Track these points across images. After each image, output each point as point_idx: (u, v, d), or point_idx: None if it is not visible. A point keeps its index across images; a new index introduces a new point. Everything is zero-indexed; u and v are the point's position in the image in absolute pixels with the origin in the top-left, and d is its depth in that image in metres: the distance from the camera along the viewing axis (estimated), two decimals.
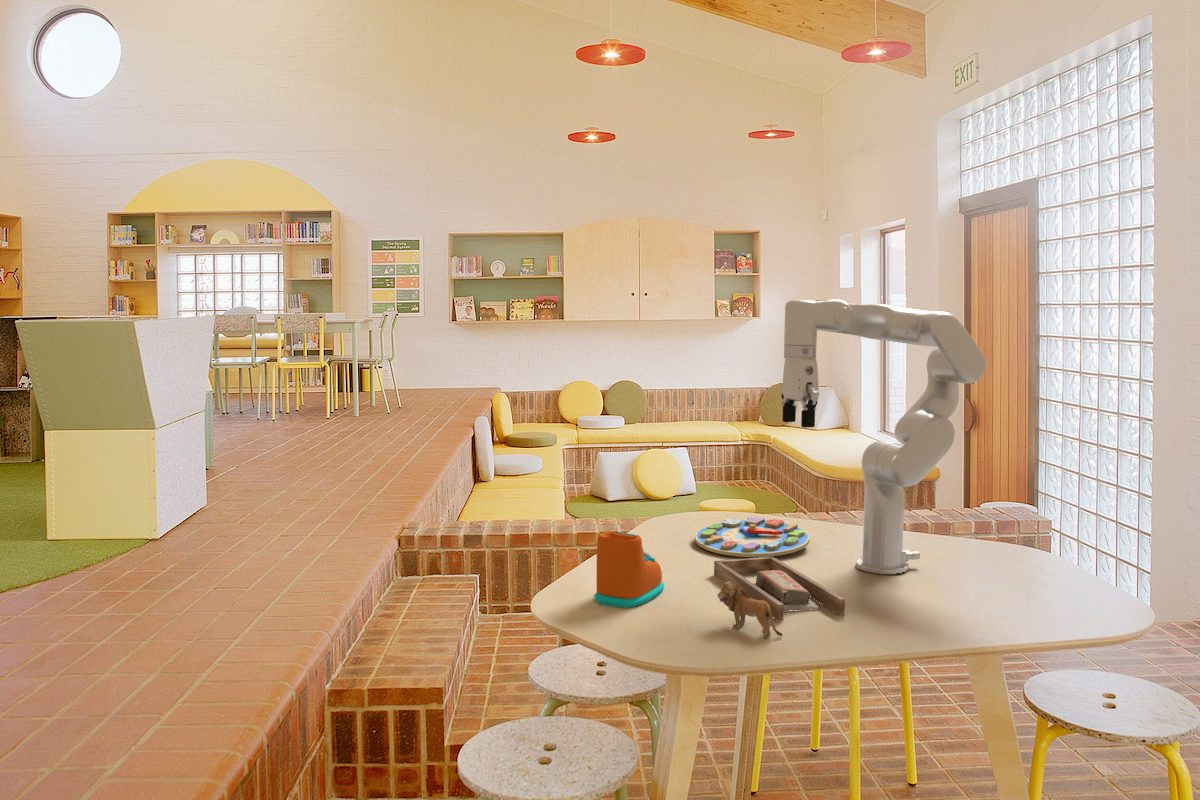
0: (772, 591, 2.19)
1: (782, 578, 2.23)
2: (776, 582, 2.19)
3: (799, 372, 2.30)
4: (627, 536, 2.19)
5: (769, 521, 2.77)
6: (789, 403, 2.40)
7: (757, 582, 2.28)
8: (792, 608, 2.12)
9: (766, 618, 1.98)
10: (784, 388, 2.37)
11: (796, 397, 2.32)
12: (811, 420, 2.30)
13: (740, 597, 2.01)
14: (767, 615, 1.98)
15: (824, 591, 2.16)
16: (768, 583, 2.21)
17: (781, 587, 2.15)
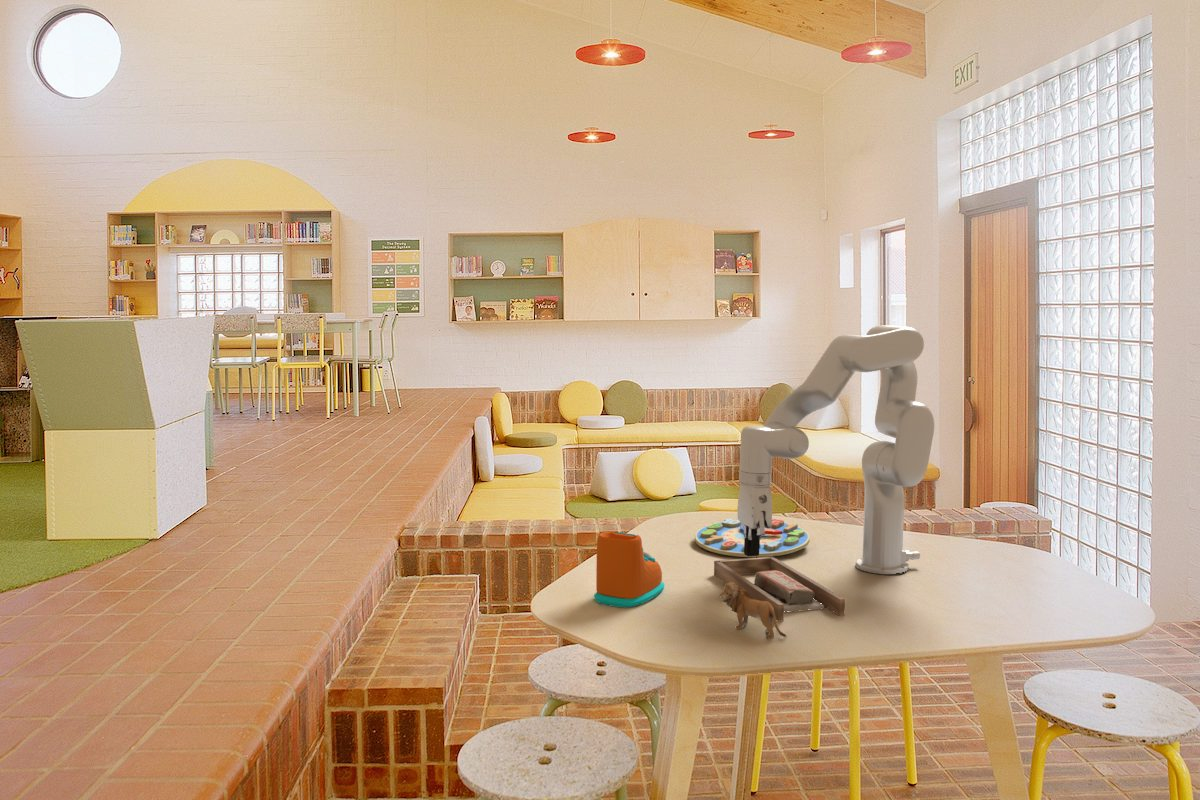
0: (775, 592, 2.19)
1: (783, 578, 2.23)
2: (780, 582, 2.19)
3: (752, 500, 2.29)
4: (627, 536, 2.19)
5: None
6: None
7: (756, 583, 2.28)
8: (799, 608, 2.13)
9: (769, 619, 1.98)
10: (739, 512, 2.37)
11: (749, 524, 2.31)
12: (755, 549, 2.33)
13: (743, 598, 2.01)
14: (770, 616, 1.97)
15: (824, 591, 2.16)
16: (770, 583, 2.21)
17: (786, 587, 2.15)
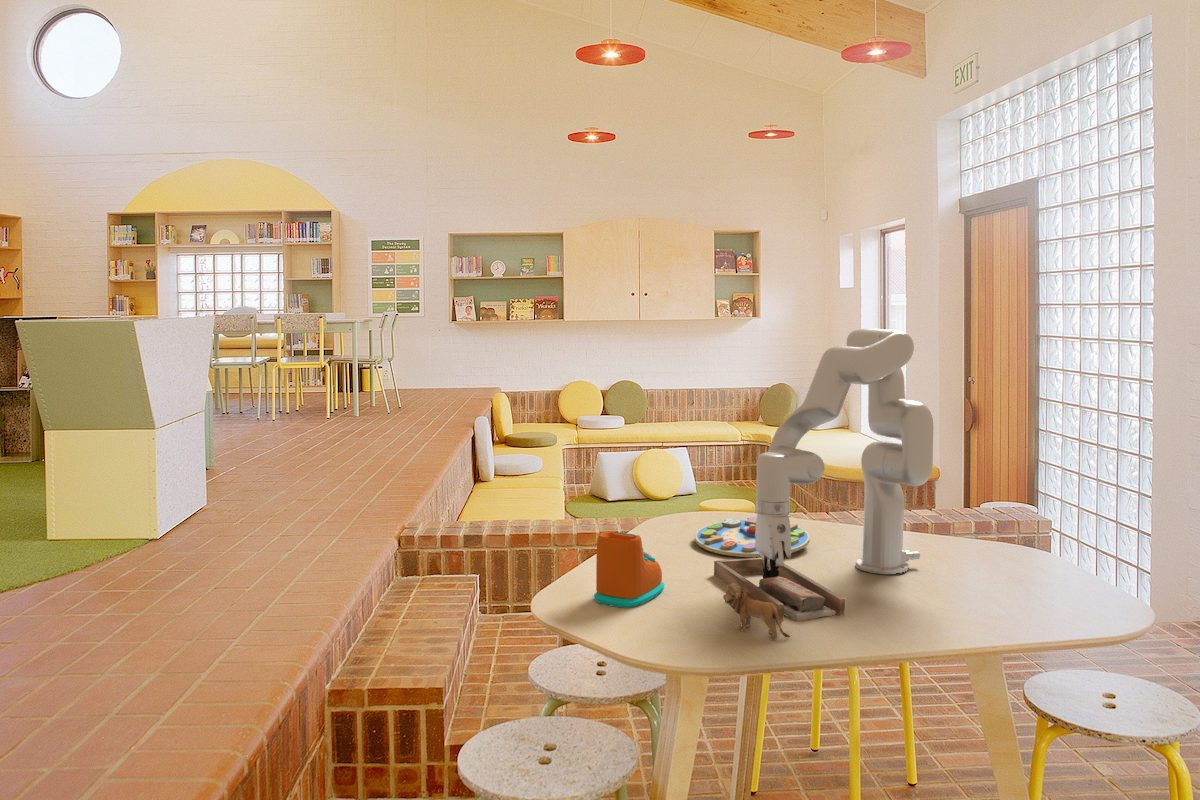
0: (784, 599, 2.13)
1: (790, 584, 2.18)
2: (789, 589, 2.13)
3: (770, 530, 2.21)
4: (627, 536, 2.19)
5: None
6: None
7: None
8: (812, 615, 2.08)
9: (772, 620, 1.97)
10: (756, 542, 2.28)
11: (768, 555, 2.23)
12: None
13: (746, 599, 2.00)
14: (774, 617, 1.97)
15: (824, 591, 2.16)
16: (778, 590, 2.15)
17: (797, 594, 2.10)
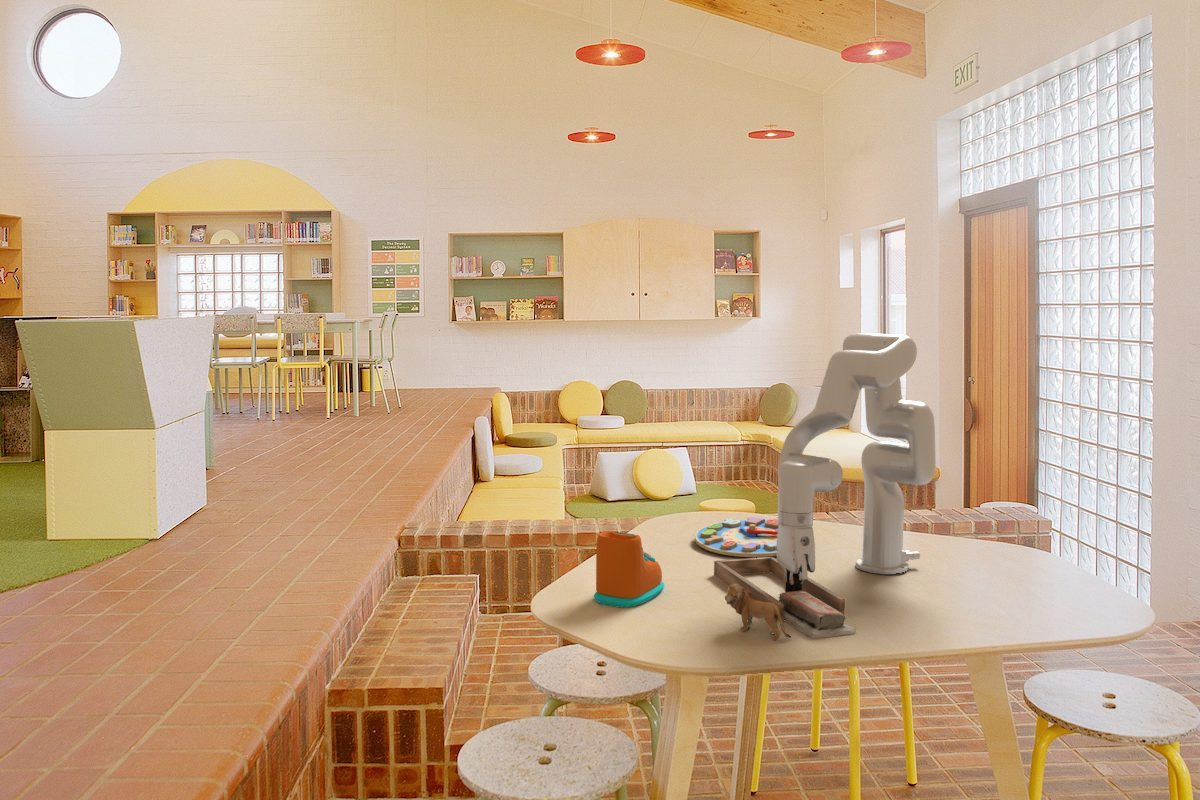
0: (803, 615, 2.03)
1: (810, 600, 2.07)
2: (807, 605, 2.03)
3: (793, 543, 2.10)
4: (627, 536, 2.19)
5: (769, 521, 2.77)
6: None
7: None
8: (829, 633, 1.97)
9: (774, 620, 1.97)
10: (778, 554, 2.18)
11: (791, 569, 2.12)
12: None
13: (747, 599, 2.00)
14: (775, 617, 1.96)
15: (824, 591, 2.16)
16: (797, 606, 2.05)
17: (815, 611, 1.99)
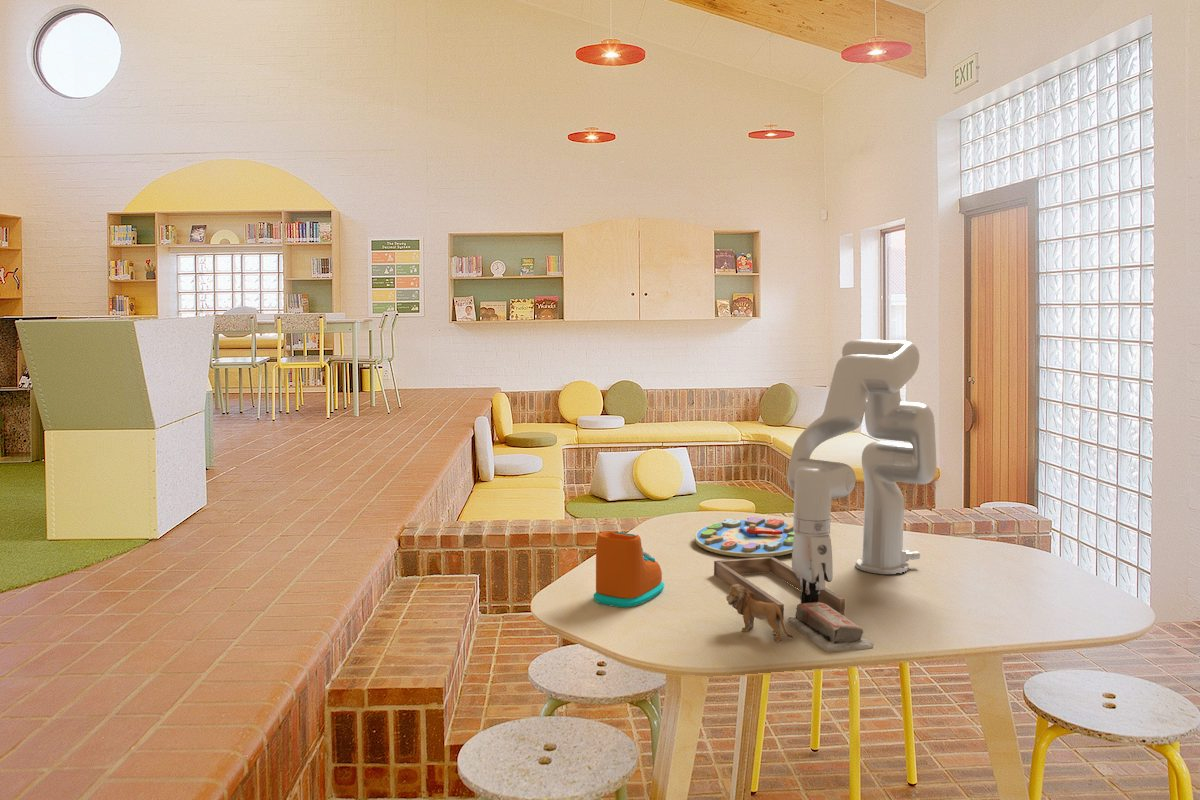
0: (819, 627, 1.96)
1: (828, 612, 1.99)
2: (824, 617, 1.96)
3: (810, 551, 2.03)
4: (626, 536, 2.19)
5: (769, 521, 2.77)
6: None
7: (797, 616, 2.05)
8: (845, 647, 1.89)
9: (776, 621, 1.96)
10: (793, 563, 2.10)
11: (807, 578, 2.05)
12: None
13: (749, 600, 1.99)
14: (777, 618, 1.96)
15: (824, 591, 2.16)
16: (813, 617, 1.98)
17: (831, 623, 1.92)
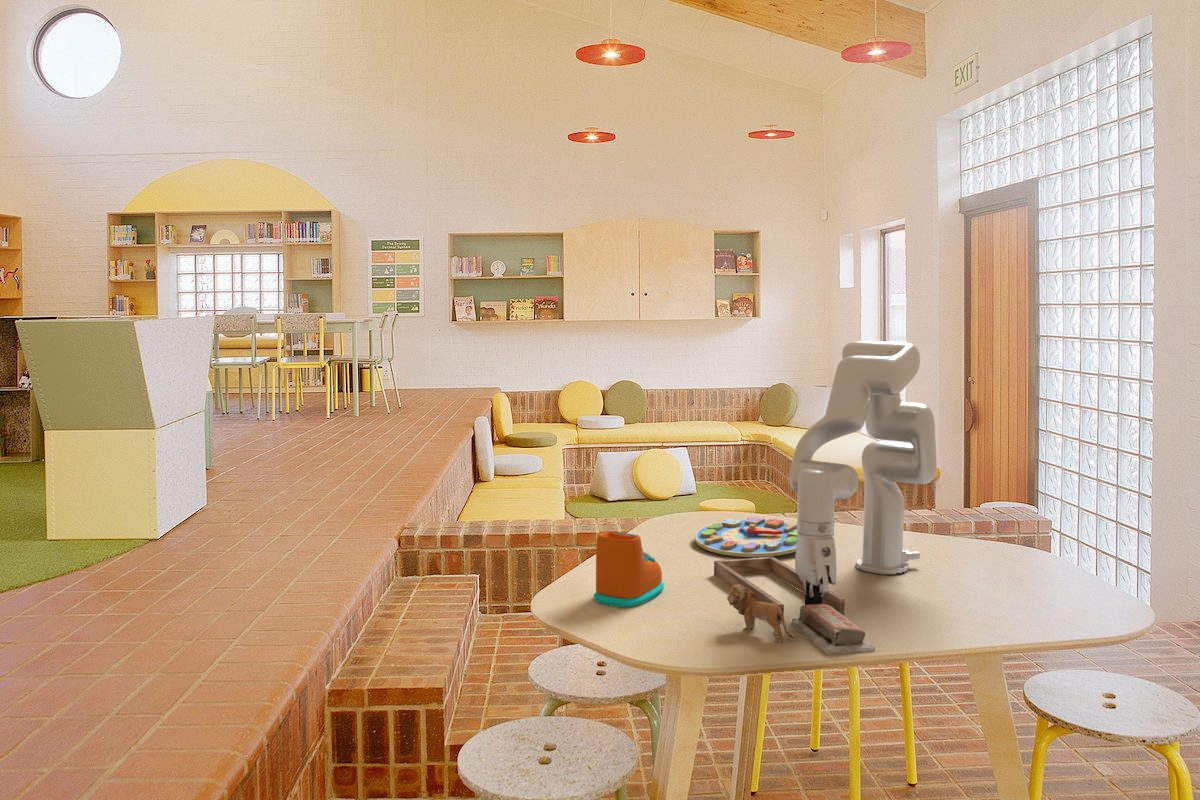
0: (821, 629, 1.94)
1: (830, 614, 1.98)
2: (826, 619, 1.94)
3: (814, 553, 2.02)
4: (626, 536, 2.19)
5: (769, 521, 2.77)
6: None
7: (801, 617, 2.03)
8: (846, 650, 1.88)
9: (777, 621, 1.96)
10: (797, 565, 2.09)
11: (811, 580, 2.03)
12: None
13: (750, 600, 1.99)
14: (778, 618, 1.96)
15: None
16: (815, 619, 1.97)
17: (832, 625, 1.91)
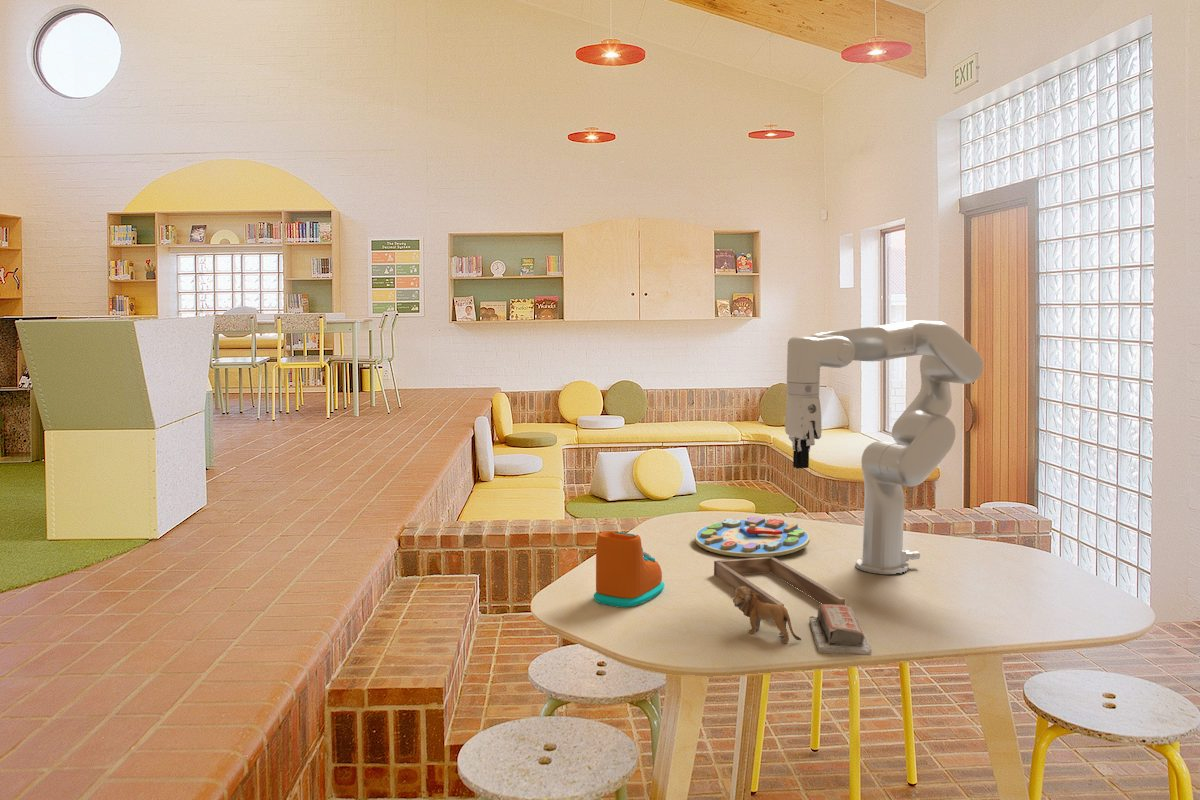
0: (824, 628, 1.95)
1: (841, 614, 1.98)
2: (830, 618, 1.95)
3: (801, 410, 2.27)
4: (626, 536, 2.19)
5: (769, 521, 2.77)
6: None
7: (818, 616, 2.04)
8: (839, 650, 1.88)
9: (783, 623, 1.95)
10: (786, 425, 2.34)
11: (799, 435, 2.29)
12: (805, 461, 2.31)
13: (756, 602, 1.98)
14: (784, 619, 1.95)
15: (824, 591, 2.16)
16: (823, 618, 1.97)
17: (830, 625, 1.91)
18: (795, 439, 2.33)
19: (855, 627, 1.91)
